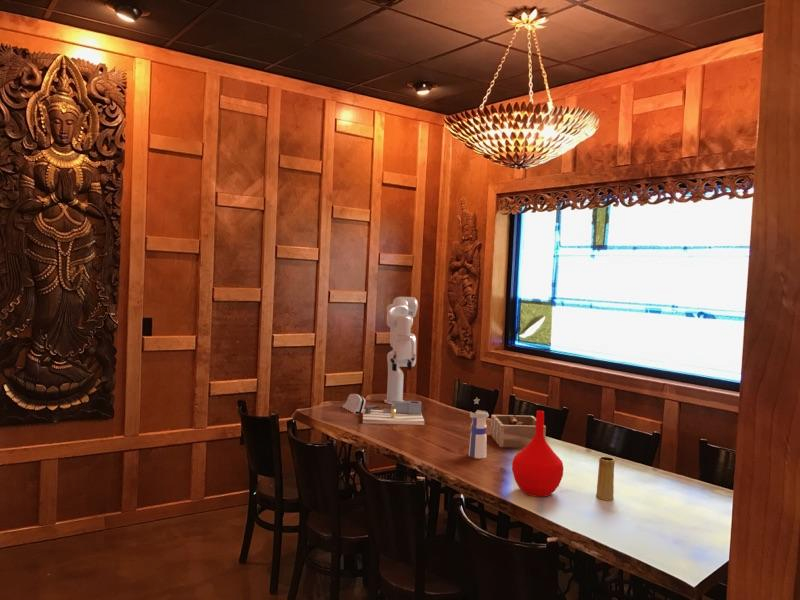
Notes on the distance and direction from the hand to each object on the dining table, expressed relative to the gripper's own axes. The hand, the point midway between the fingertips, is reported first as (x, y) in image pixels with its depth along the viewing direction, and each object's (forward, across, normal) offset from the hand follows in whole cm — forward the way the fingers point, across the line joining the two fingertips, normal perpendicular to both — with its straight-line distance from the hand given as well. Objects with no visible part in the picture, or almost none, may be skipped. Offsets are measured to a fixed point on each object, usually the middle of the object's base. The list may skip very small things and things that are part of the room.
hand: (401, 370), depth 330 cm
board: (+26, +3, -3) cm, 27 cm away
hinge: (+26, +10, -30) cm, 41 cm away
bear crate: (+27, -26, +61) cm, 71 cm away
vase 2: (+28, +1, +131) cm, 134 cm away
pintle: (+26, +5, +1) cm, 27 cm away
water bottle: (+28, +8, +70) cm, 76 cm away
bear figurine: (+28, -26, +61) cm, 72 cm away
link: (+24, -5, -5) cm, 25 cm away
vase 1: (+28, +20, +115) cm, 120 cm away
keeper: (+26, +9, -14) cm, 31 cm away
